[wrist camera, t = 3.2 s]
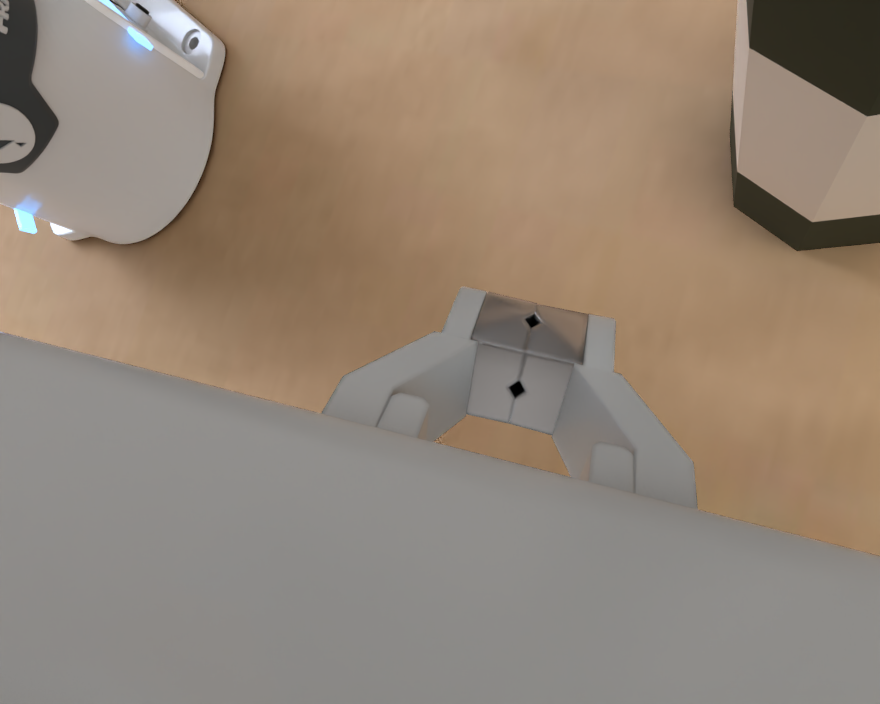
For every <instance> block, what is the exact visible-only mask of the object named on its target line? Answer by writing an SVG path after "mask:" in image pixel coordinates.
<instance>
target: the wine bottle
mask: <svg viewBox="0 0 880 704" xmlns="http://www.w3.org/2000/svg"><path fill="white" fill-rule="evenodd" d="M730 147H731V165H732V183H733V201H734V207H736V208H737V209H739V210H740V211H741V212H743V213H744V214H746V215H747V216H748V217H750V218H751V219H753V220H754V221H756V222H757V223H758V224H760V225H761V226H763V227H764V228H765V229H767V230H768V231H770V232H771V233H773V234H774V235H775V236H777V237H778V238H780V239H781V240H782V241H784V242H785V243H787V244H788V245H790V246H791V247H792V248H794V249H795V250H797V251H801V250H811V249H821V248H831V247H841V246H851V245H861V244H871V243H880V0H738V6H737V23H736V40H735V57H734V74H733V91H732V108H731V125H730Z"/></svg>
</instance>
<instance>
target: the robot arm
mask: <svg viewBox="0 0 880 704" xmlns="http://www.w3.org/2000/svg"><path fill="white" fill-rule="evenodd" d="M224 60H225V46H224V44H223V42H222V41H221V40H220V39H219V38H218V37H216V36H215V35H214V34H213V33H212V32H210V31H209V30H208V29H207V28H206V27H205V26H203V25H202V24H201V23H200V22H199V21H198V20H196V19H195V18H194V17H193V16H192V15H191V14H189V13H188V12H187V11H186V10H185V9H184V8H182V7H181V6H180V5H179V4H178V3H177V2H175V1H174V0H0V204H2V205H5V206H7V207H10V208H13V209H14V212H15V215H16V219H17V223H18V226H19V230H21V231H25V232H29V233H33V234H35V233H36V232H37V230H36V226H35V223H34V219H33V216H34V217H37V218H40V219H42V220H45V221H48V222H50V224H51V228H52V231H53V232H54V234H55V235H57V236H60V237H62V238H65V239H68V240H80V239H84V238H87V237H97V238H100V239H103V240H105V241H108V242H111V243H116V244H131V243H136V242H139V241H142V240H145V239H147V238H149V237H151V236H153V235H154V234H156V233H158V232H159V231H160V230H162V229H163V228H164V227H165V226H167V225H168V224H169V223H170V222H171V221H172V220H173V219H174V218H175V217H176V216H177V215H178V213H179V212H180V211H181V210H182V209H183V207H184V206H185V205H186V203H187V202H188V200H189V199H190V197H191V195H192V194H193V192H194V190H195V188H196V186H197V185H198V182H199V180H200V178H201V176H202V173H203V171H204V168H205V165H206V162H207V159H208V156H209V152H210V148H211V143H212V137H213V128H214V98H215V90H216V87H217V84H218V81H219V78H220V75H221V71H222V68H223V64H224ZM615 334H616V321H615V319H614V318H609V317H603V316H598V315H592V314H585V313H580V312H575V311H570V310H565V309H560V308H555V307H550V306H545V305H540V304H537V303H534V302H530V301H525V300H521V299H517V298H513V297H509V296H504V295H500V294H496V293H492V292H486V291H483V290H479V289H474V288H469V287H465V286H462V287H461V288H460V289H459V292H458V294H457V296H456V299H455V301H454V304H453V306H452V308H451V311H450V313H449V315H448V318H447V320H446V323H445V325H444V327H443V330H442V332H441V333H440V332H435V331H434V332H432V333H430V334H428V335H426V336H424V337H422V338H420V339H418V340H416V341H414V342H412V343H410V344H407V345H405V346H403V347H401V348H399V349H397V350H395V351H393V352H391V353H389V354H387V355H385V356H383V357H381V358H379V359H377V360H375V361H373V362H371V363H369V364H367V365H365V366H363V367H360V368H358V369H356V370H354V371H352V372H350V373H348V374H346V375H344V376H343V377H342V379H341V380H340V382H339V384H338V385H337V387H336V389H335V391H334V392H333V394H332V396H331V397H330V399H329V401H328V403H327V404H326V406H325V408H324V409H323V411H322V413H317V412H313V411H309V410H306V409H302V408H298V407H294V406H290V405H286V404H282V403H278V402H274V401H270V400H266V399H262V398H258V397H255V396H251V395H247V394H243V393H239V392H235V391H231V390H227V389H223V388H219V387H215V386H211V385H208V384H204V383H200V382H196V381H192V380H188V379H184V378H180V377H176V376H172V375H168V374H164V373H160V372H157V371H153V370H149V369H145V368H141V367H137V366H133V365H129V364H125V363H121V362H117V361H113V360H109V359H106V358H102V357H98V356H94V355H90V354H86V353H82V352H78V351H74V350H70V349H66V348H62V347H58V346H55V345H51V344H47V343H43V342H39V341H35V340H31V339H27V338H23V337H19V336H15V335H11V334H7V333H4V332H0V704H880V556H878V555H875V554H871V553H867V552H863V551H859V550H855V549H851V548H847V547H843V546H839V545H835V544H831V543H827V542H823V541H820V540H816V539H812V538H808V537H804V536H800V535H796V534H792V533H788V532H784V531H780V530H776V529H772V528H769V527H765V526H761V525H757V524H753V523H749V522H745V521H741V520H737V519H733V518H729V517H725V516H721V515H717V514H714V513H710V512H706V511H702V510H698V507H697V496H696V484H695V473H694V463H693V461H692V460H691V459H690V458H689V456H688V455H687V454H686V453H685V452H684V450H683V449H682V448H681V447H680V445H679V444H678V443H677V442H676V440H675V439H674V438H673V437H672V436H671V434H670V433H669V432H668V431H667V429H666V428H665V427H664V426H663V425H662V423H661V422H660V421H659V420H658V418H657V417H656V416H655V415H654V414H653V412H652V411H651V410H650V409H649V407H648V406H647V405H646V404H645V403H644V401H643V400H642V399H641V398H640V396H639V395H638V394H637V393H636V391H635V390H634V389H633V388H632V387H631V385H630V384H629V383H628V382H627V380H626V379H625V378H624V377H623V376H622V374H619V373H615V372H614V356H615ZM466 414H468V415H472V416H477V417H482V418H486V419H491V420H495V421H500V422H505V423H509V424H513V425H516V426H520V427H524V428H527V429H531V430H535V431H538V432H542V433H546V434H549V435H552V439H553V441H554V443H555V445H556V447H557V449H558V451H559V453H560V455H561V457H562V460H563V462H564V464H565V466H566V468H567V470H568V472H569V474H570V476H571V477H568V476H564V475H560V474H556V473H553V472H549V471H545V470H541V469H537V468H533V467H529V466H525V465H521V464H517V463H513V462H509V461H505V460H502V459H498V458H494V457H490V456H486V455H482V454H478V453H474V452H470V451H466V450H462V449H458V448H454V447H451V446H447V445H443V444H439V443H435V442H433V441H435V440H436V439H437V438H439V437H440V436H441V435H442V434H444V433H445V432H446V431H448V430H449V429H450V428H451V427H453V426H454V425H455V424H457V423H458V422H459V421H460V420H462V419H463V418H464V417H465V416H466ZM509 421H510V422H509Z"/></svg>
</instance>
